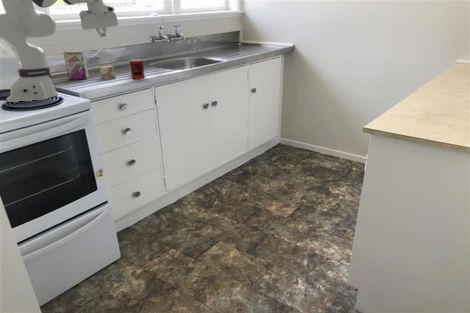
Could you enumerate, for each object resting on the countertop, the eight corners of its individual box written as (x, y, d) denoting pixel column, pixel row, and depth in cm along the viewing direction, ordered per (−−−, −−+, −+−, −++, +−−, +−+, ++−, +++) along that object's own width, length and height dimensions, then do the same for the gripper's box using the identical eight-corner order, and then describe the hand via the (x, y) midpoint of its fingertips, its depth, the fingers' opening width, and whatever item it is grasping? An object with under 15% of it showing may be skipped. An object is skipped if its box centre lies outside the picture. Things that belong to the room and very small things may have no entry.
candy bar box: (68, 79, 218) (62, 52, 211) (71, 78, 222) (66, 51, 216) (86, 79, 218) (81, 51, 211) (89, 77, 222) (84, 50, 216)
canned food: (139, 76, 222) (137, 58, 218) (147, 77, 217) (145, 59, 213) (129, 78, 217) (126, 60, 212) (136, 79, 212) (134, 61, 207)
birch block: (106, 79, 215) (104, 67, 213) (101, 78, 219) (99, 66, 216) (115, 77, 220) (113, 66, 217) (110, 76, 223) (108, 65, 220)
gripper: (81, 10, 178) (88, 39, 183) (116, 7, 192) (122, 34, 198) (75, 11, 182) (82, 39, 187) (110, 8, 196) (115, 34, 201)
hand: (103, 36), depth 193 cm, fingers closed
